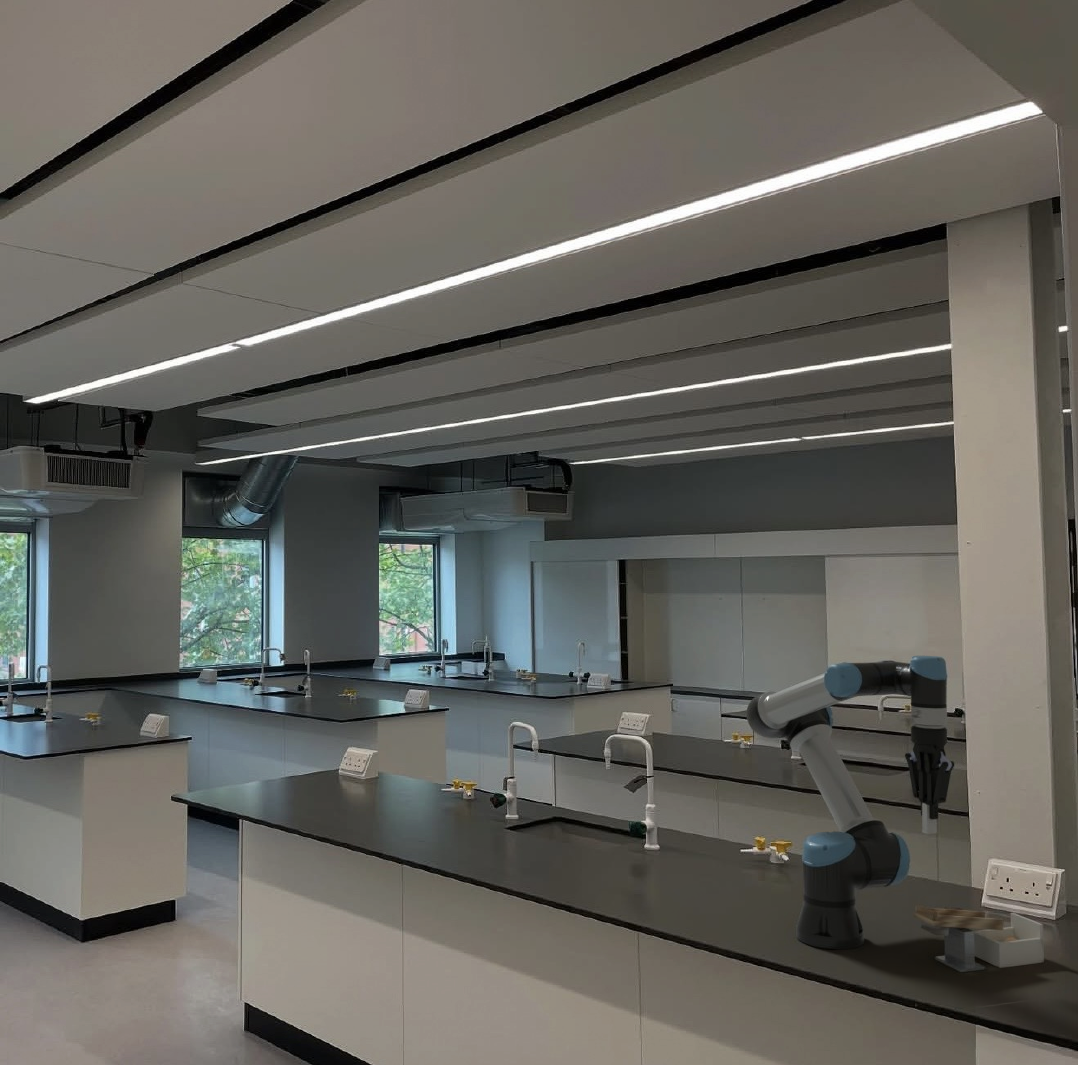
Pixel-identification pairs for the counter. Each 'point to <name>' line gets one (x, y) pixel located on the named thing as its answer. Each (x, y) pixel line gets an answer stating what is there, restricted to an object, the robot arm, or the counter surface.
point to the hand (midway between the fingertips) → (929, 832)
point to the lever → (954, 919)
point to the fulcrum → (960, 950)
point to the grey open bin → (1011, 943)
